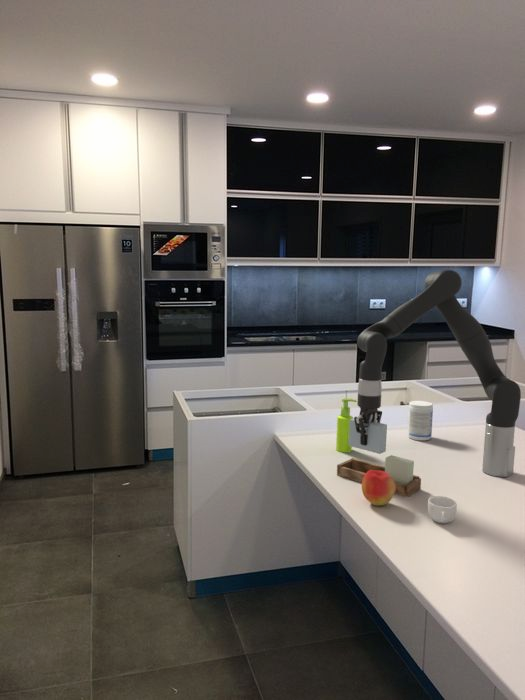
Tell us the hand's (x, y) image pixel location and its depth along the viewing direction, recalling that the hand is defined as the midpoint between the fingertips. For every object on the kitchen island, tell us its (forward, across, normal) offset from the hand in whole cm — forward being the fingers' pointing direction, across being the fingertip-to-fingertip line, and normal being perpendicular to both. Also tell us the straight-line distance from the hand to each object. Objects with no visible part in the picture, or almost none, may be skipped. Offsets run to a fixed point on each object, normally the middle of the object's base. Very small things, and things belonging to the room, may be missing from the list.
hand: (367, 443), depth 187 cm
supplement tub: (+12, +55, +8) cm, 57 cm away
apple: (+12, -15, -14) cm, 24 cm away
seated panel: (+11, 0, -12) cm, 17 cm away
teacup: (+12, -13, -32) cm, 37 cm away
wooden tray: (+12, 0, -4) cm, 13 cm away
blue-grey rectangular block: (+2, 0, 0) cm, 2 cm away
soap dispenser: (+12, +20, +22) cm, 32 cm away
